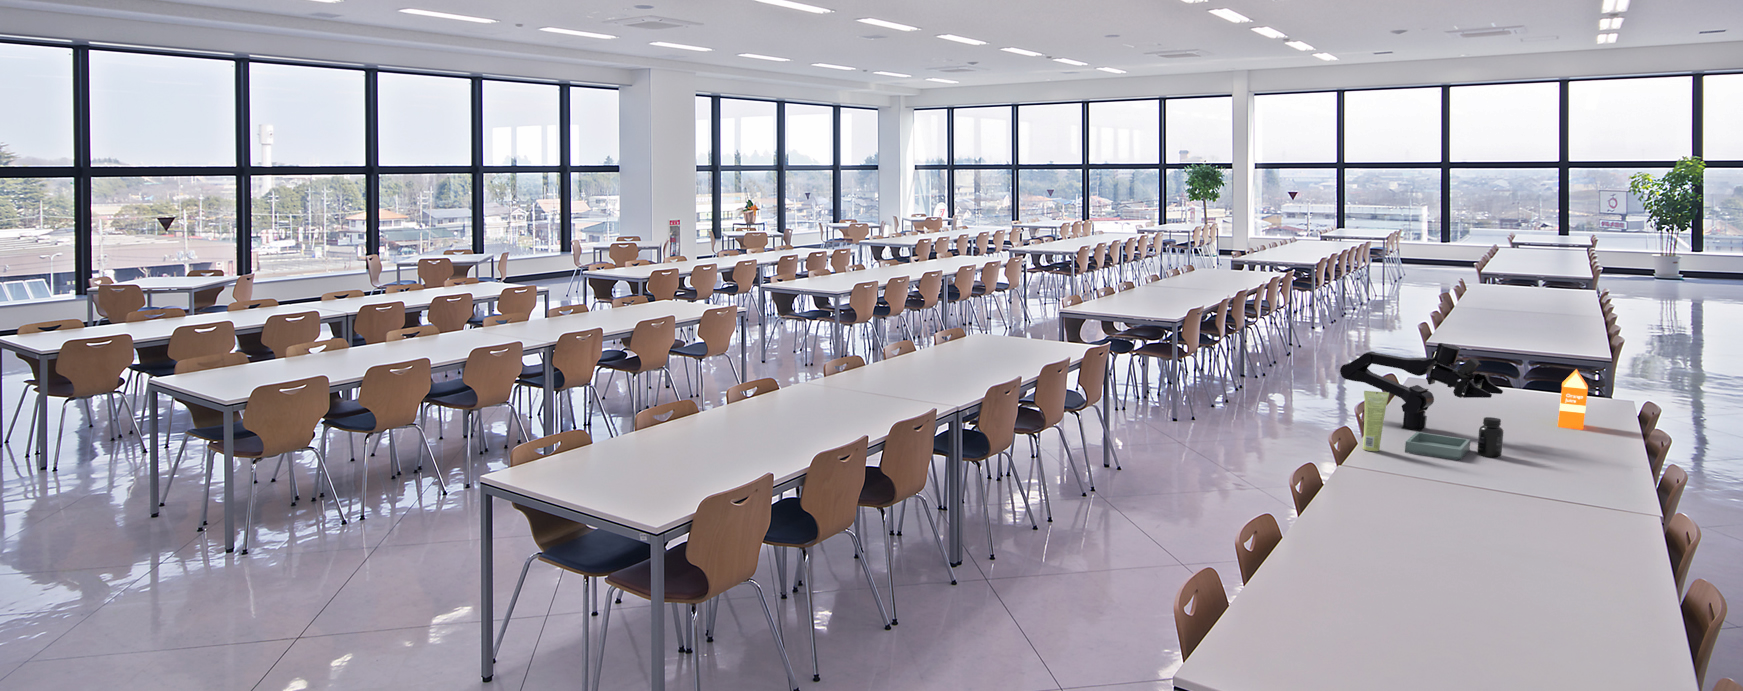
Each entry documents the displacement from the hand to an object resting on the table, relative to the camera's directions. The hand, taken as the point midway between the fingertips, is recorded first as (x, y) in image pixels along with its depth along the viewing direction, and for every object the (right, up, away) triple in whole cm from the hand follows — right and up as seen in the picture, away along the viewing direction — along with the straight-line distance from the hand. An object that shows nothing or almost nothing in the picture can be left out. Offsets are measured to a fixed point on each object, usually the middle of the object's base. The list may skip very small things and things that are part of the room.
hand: (1497, 394), depth 358 cm
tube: (-44, -18, -6) cm, 48 cm away
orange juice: (+41, -13, +26) cm, 51 cm away
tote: (-24, -18, -7) cm, 31 cm away
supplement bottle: (-10, -19, -12) cm, 25 cm away
